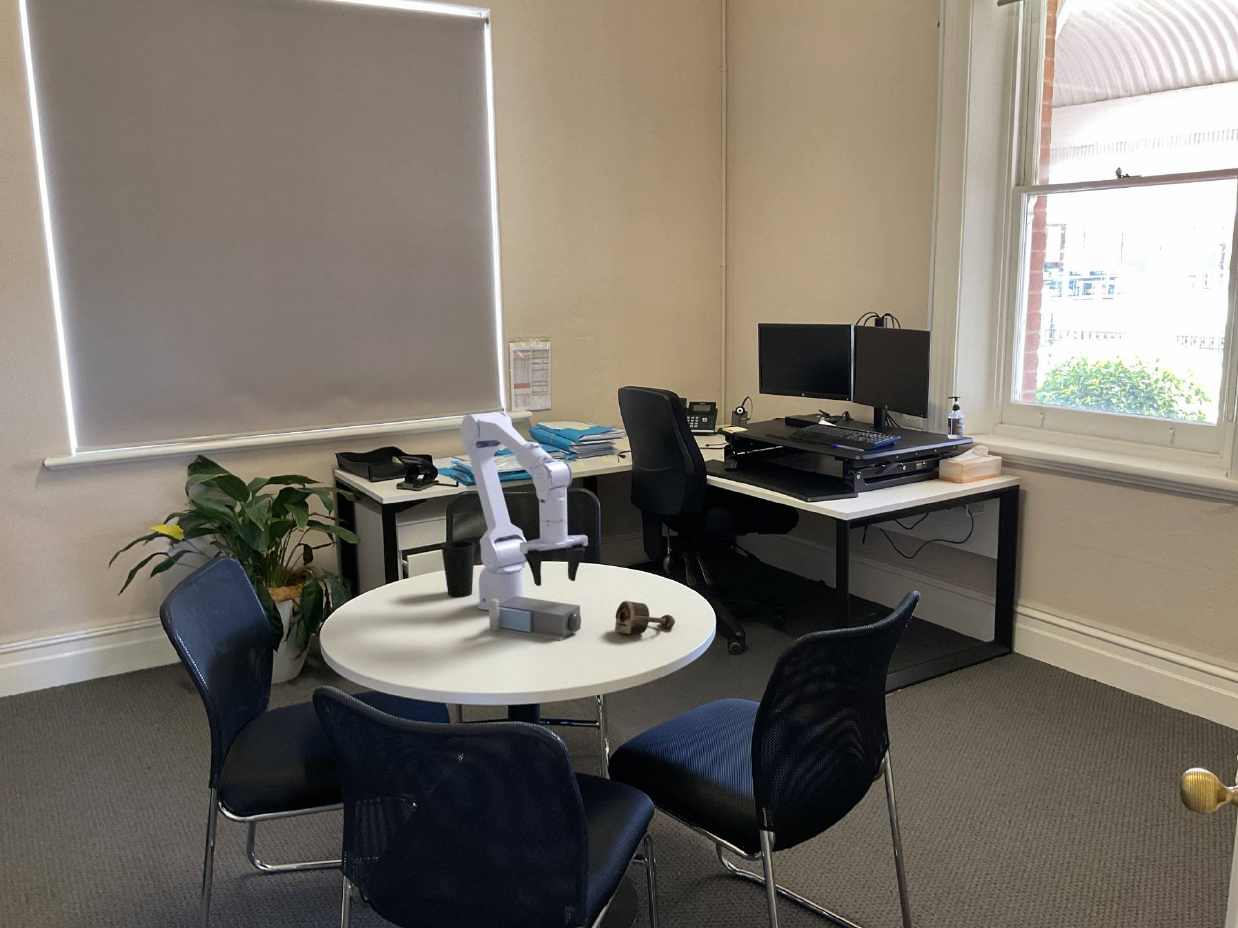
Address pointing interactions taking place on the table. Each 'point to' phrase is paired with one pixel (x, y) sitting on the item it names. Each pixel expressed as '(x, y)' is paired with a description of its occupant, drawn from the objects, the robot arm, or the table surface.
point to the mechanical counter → (637, 618)
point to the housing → (546, 617)
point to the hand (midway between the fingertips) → (554, 582)
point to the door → (508, 617)
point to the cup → (458, 567)
